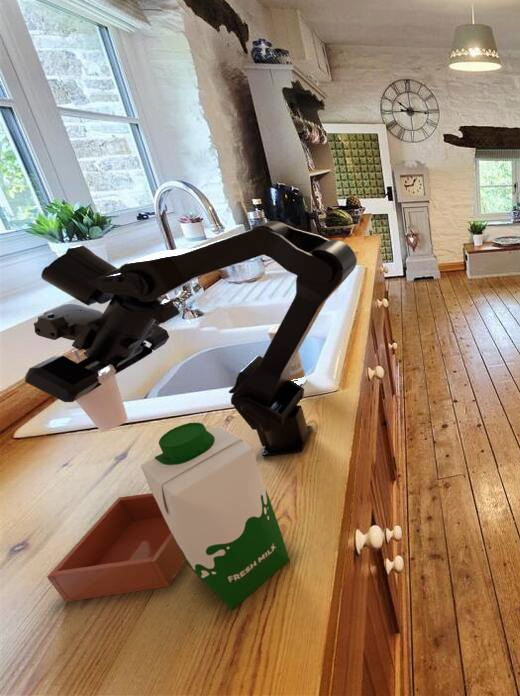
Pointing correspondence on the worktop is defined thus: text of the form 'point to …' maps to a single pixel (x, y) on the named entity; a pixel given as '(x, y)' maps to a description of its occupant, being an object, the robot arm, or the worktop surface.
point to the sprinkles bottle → (296, 364)
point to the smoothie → (104, 400)
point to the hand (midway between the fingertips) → (86, 388)
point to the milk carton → (217, 509)
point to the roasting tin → (120, 553)
